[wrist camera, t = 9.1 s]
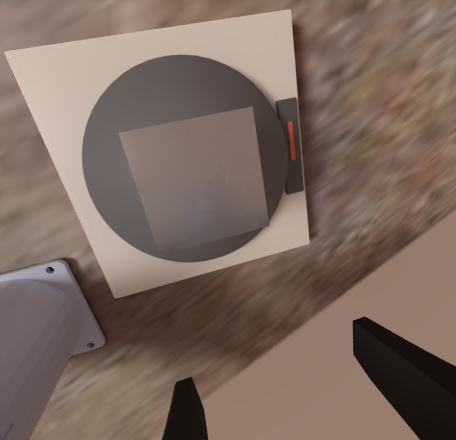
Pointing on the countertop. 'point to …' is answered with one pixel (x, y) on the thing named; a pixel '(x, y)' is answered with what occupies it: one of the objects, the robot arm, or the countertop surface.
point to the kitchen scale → (161, 114)
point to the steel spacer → (198, 178)
